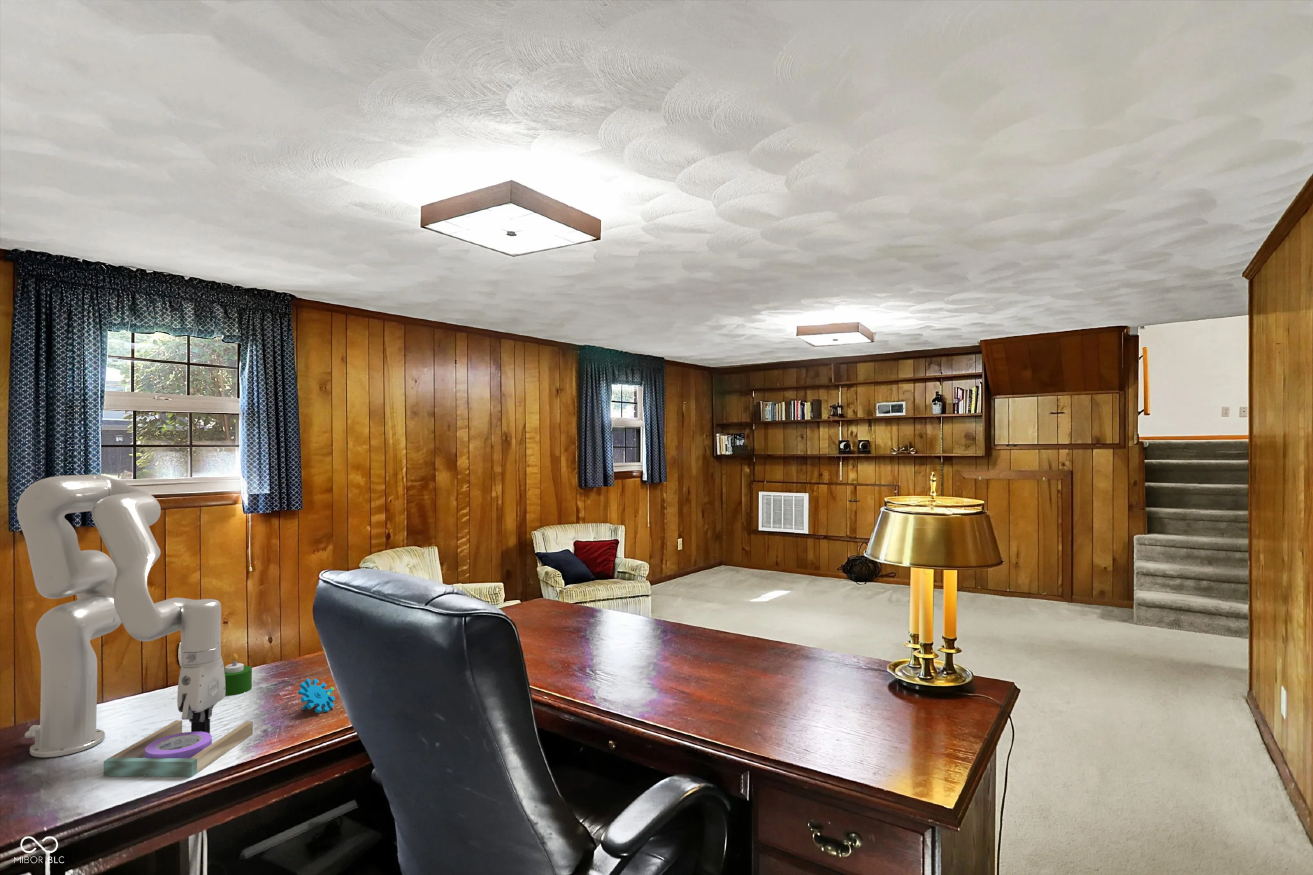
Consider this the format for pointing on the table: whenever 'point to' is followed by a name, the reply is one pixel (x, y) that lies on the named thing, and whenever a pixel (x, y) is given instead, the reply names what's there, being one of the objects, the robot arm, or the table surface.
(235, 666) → the candle
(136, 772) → the bay
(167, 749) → the masking tape
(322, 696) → the gear
